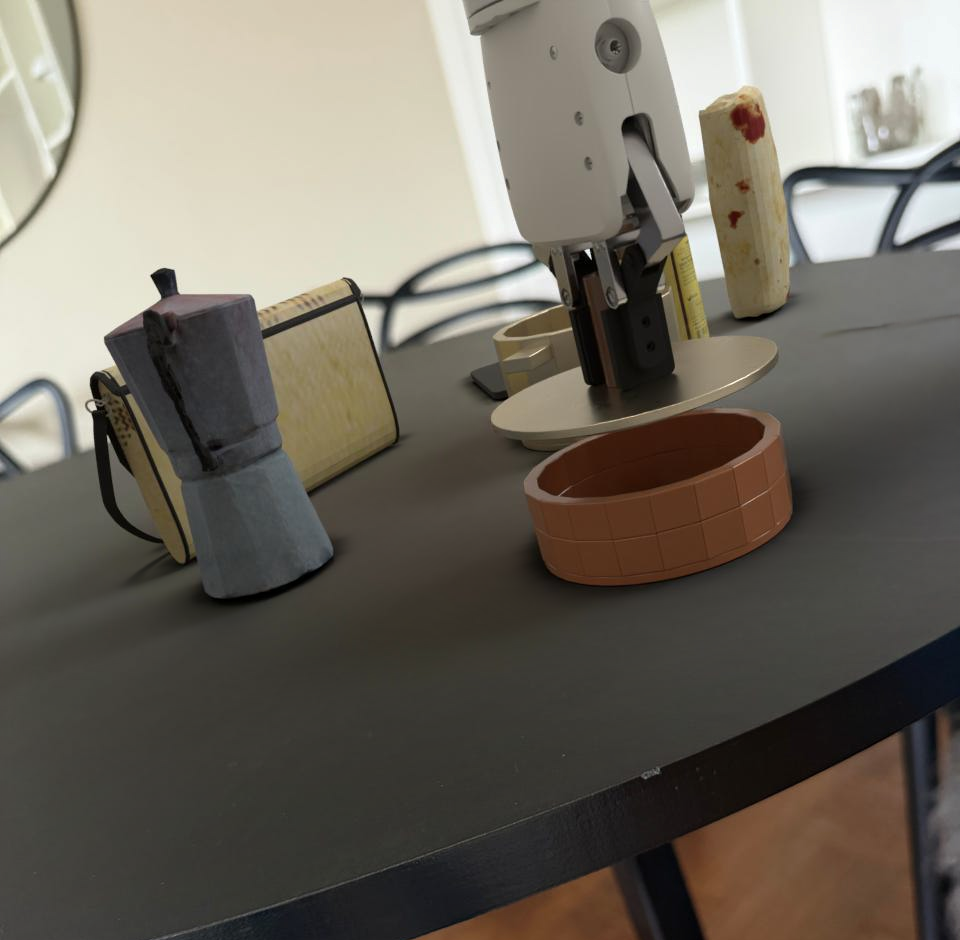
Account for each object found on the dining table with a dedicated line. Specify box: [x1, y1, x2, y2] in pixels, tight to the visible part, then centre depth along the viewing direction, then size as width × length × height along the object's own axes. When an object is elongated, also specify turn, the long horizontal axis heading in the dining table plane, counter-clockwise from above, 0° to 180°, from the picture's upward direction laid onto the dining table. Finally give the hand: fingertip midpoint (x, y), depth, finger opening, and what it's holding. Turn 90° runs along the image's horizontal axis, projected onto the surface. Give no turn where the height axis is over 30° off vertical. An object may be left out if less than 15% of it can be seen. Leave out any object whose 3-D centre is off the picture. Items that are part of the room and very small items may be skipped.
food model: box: [698, 85, 791, 319], centre depth 97 cm, size 10×7×20 cm
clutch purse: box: [84, 276, 401, 566], centre depth 83 cm, size 30×7×15 cm, turn 144°
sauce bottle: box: [616, 214, 710, 341], centre depth 86 cm, size 6×6×20 cm
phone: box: [469, 361, 509, 400], centre depth 104 cm, size 7×1×15 cm
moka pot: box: [103, 267, 334, 600], centre depth 64 cm, size 10×15×20 cm, turn 10°
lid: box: [490, 271, 780, 441], centre depth 52 cm, size 15×15×7 cm
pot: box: [492, 285, 682, 452], centre depth 79 cm, size 14×19×8 cm
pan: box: [523, 407, 794, 587], centre depth 55 cm, size 14×14×4 cm
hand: (629, 376), depth 53 cm, fingers closed on lid, 2 cm apart
